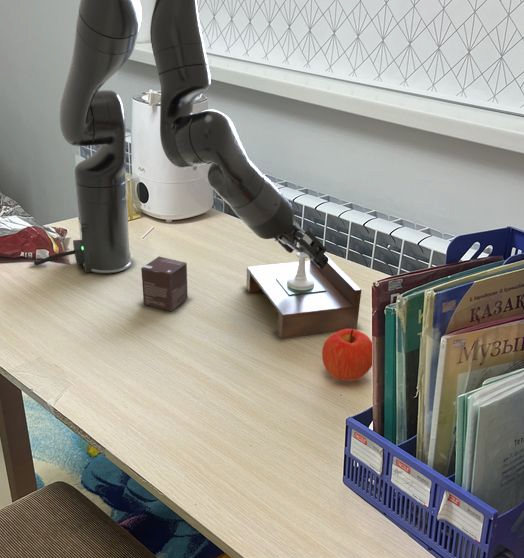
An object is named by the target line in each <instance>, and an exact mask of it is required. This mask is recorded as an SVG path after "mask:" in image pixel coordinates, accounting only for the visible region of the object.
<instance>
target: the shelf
mask: <svg viewBox="0 0 524 558" xmlns="http://www.w3.org/2000/svg"><path fill="white" fill-rule="evenodd" d="M324 254H325V255H326V256H327V257H328V259H329V261H328V263H327V264H326V265H325V267H324V268H323V269H321V268H319V267H318V266H317V265H316V264H315V263H314V262H313V261H312V260H311V259H309V260H305V270H306V275H307V276H308V277H310V278H312V279H313V280H314V287H313V288H311V289H309V290H295V289H292V288H290V287H288V286H287V280H288V278H289V277H291V276H295V274H297V270H298V265H299V261H293V262H292V261H291V262H282V263H272V264H261V265H251V266H246V284H245V285H246V286H245V288H246V290H247V291H248V293H260V292H263V293H264V295H265V297H266V298H267V299H268V301H270V303H271V305H273V307H274V308H275V310H276V311H277V312H278V317H277V319H278V321H277V334H278V335H279V337H280V339H288V338H295V337H302V336H310V335H318V334H325V333H335V332H338V331H340V330H343V329H355V330H358V321H359V313H360V305H361V297H362V289H361V288H360V287H359V286H358V285H357V283H355V282H354V280H352V279H351V278H350V277H349V276H348V275H347V274H346V272H344V271H343V270H342V269H341V267H339V266H338V265H337V264H336V263H335V262H334V261H333V260H332V259H331V258H330V257H329V256H328V255H327V254H326V252H325V253H324Z"/></svg>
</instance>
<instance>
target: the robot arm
mask: <svg viewBox="0 0 524 558" xmlns="http://www.w3.org/2000/svg"><path fill="white" fill-rule="evenodd" d="M142 11H143V9H142V5H141V0H80V1H79V6H78V13H77V17H76V25H75V26H76V27H75V35H74V43H73V49H72V57H71V62H70V66H69V67H70V68H69V70H68V74H67V77H66V81H65V85H64V88H63V92H62V97H61V100H60V104H59V105H60V106H59V126H60V131H61V134H62V136H63V138H64V140H65V141H66V142H67V143H68V144H70V145H71V146H74V147H91V146H92V147H93V146H99V148H98V149H97V150H96V151H95V152H94V153H93V154H92V155H90V156H89V157H87V158H85V159H84V160H82V161H80V162H78V163H77V164H76V165H75V167H74V179H75V190H76V199H77V208H78V209H77V210H78V217H77V219H78V228H79V229H78V230H79V237H80V239H74V240H72V242H73V250H69V251H64V252H63V251H62V252H58V253H55V254H52V255H49V256H47V257H45V258H43V259H40V260H34V261H33V265H34V266H39V265H43V264H45V263H47V262H49V261H52V260H53V259H58V258H63V257H66V256H72V255H74V258H75V261H76V262H75V263H76V264H77V265H78V264H82V265H83V268H84V271H85V273H95V274H115V273H120V272H123V271H125V270H127V269H128V268H130V267H131V266H132V259H131V247H130V246H131V245H130V231H129V215H128V213H129V212H128V201H127V199H128V198H127V183H126V182H127V181H126V168H127V153H126V152H127V151H126V113H125V108H124V105H123V101H122V99H121V97H120V95H119V94H118V93H117V92H116V91H114V90H109V89H105V90H100V89H101V87H102V86H103V85H104V84H105V83H106V82H107V81H109V79H111V78H112V77H113V76H114V75H115V74H116V73H117V72H118V71H119V70H121V68H122V67H123V66H125V64H126V62H128V61H129V59H130V57H131V56H132V54H133V52H134V50H135V47H136V43H137V38H138V35H139V31H140V27H141V24H142V23H141V22H142V17H143V16H142V15H143V12H142ZM149 29H150V30H149V34H150V35H149V36H150V43H151V49H152V54H153V58H154V63H155V67H156V71H157V75H158V81H159V85H160V101H159V103H160V104H159V105H160V106H159V107H160V111H159V112H160V115H159V117H160V118H159V134H160V135H159V138H160V143H161V147H162V150H163V152H164V155H165V156H166V157H167V159H168V161H170V163H171V164H172V165H173V166H175V167H176V168H179V169H192V168H196V167H200V166H204V165H205V166H206V165H209V164H210V166H209V168H208V170H207V180H208V183H209V185H210V187H211V188H212V189H213V191H214V192H215V193H216V194H217V195H218V196H219V197H220V198H221V199H222V200H223V201H224V202H225V203H226V204H227V205H228V206H229V207H230V208H231V210H232V211H233V213H234V214H235V216H237V217H238V218H239V219H240V220H241V221H242V222H243V223H244V224H245V225H246V226H247V227H248V228H249V229H250V230H251V231H252V232H253V233H254V234H255V235H256V236H257V237H259V238H261V239H263V240H273V241H274V242H275V243H278V244H279V245H280V246H281V247H282V248H283V249H284V250H285V251H286V252H287V253H290V254H292V253H293V252H294V251H295V252H296V254H297V253H304V254H305V255H306V256H307V257H308V259H309V260H310V259H311V260H312V261H313V262H314V263H315V264H316V265H317V266H318V267H319V268H321V269H323V268H324V267H325V265H326V264H327V263H328V261H329V259H328V257H329V256H328V255H327V254H326V252H327V251H328V250H327V247H326V246H325V245H323V243H322V242H321V241H319V239H318V238H317V237H316V236H315V235H314V234H313V232H312V231H311V230H308V229H306V230H304V229H303V228H302V227H301V225H300V224H299V223H298V222H297V221H296V220H294V207H293V204H292V203H291V202H290V201H289V200H288V199H287V198H286V196H285V195H284V194H283V193H282V192H281V191H280V190H279V188H278V187H277V186H276V185H275V184H274V183H273V181H272V180H271V179H269V178H268V177H267V176H266V175H265V174H263V172H261V171H260V169H259V168H258V167H257V166H256V165H255V164H254V163H253V161H252V160H251V159H250V158H249V156H248V155H247V153H246V150H245V148H244V146H243V143H242V142H241V139H240V137H239V134H238V132H237V130H236V127H235V125H234V123H233V122H232V120H231V119H230V117H228V116H227V115H226V114H224V113H223V112H221V111H218V110H216V109H206V110H202V111H197V112H196V113H194V104H195V100H196V99H197V98H198V97H199V96H200V95H202V94H203V93H205V92H206V91H208V90H209V88H210V87H211V84H212V83H211V82H212V81H211V79H212V78H211V72H210V68H209V67H210V66H209V63H208V58H207V53H206V49H205V43H204V39H203V34H202V29H201V24H200V18H199V11H198V2H197V0H155V2H154V5H153V9H152V14H151V19H150V27H149ZM298 243H299V245H300V246H298ZM324 253H325V254H326V255H327V256H328V257H327V256H326V255H325V254H324Z"/></svg>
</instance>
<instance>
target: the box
mask: <svg viewBox="0 0 524 558" xmlns="http://www.w3.org/2000/svg"><path fill="white" fill-rule="evenodd" d="M187 267H188V264H187V262H185V261H181V260H176V259H172V258H167V257H163V256H158V257H156V258H155V259H153V260H152V261H150V262H148V263H147V264H145V265H144V266H143V267H141V268H140V271H141V285H142V297H143V305H146V306H149V307H150V306H151V307H154V308H158V309H163V310H166V311H170V312H172V311H173V310H175V309H176V308H177V307H178V306H180V305H181V304H182V303H184V302H185V301H186V300H188V297H189V295H188V269H187Z"/></svg>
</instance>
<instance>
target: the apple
mask: <svg viewBox="0 0 524 558" xmlns="http://www.w3.org/2000/svg"><path fill="white" fill-rule="evenodd" d="M372 343H373V342H372V339H370V337H369V336H368V335H367V334H366V333H364V332H361V331H360V330H358V329H343V330H340V331H334V332H332V334H330V335H329V336H328V337H327V339H326V340H325V341H324V343H323V345H322V350H321V358H322V363H323V367H324V368H325V370H326V371H327V372H328V374H329V375H331V376H332V377H334V378H336V379H338V380H341V381H354V380H355V381H356V380H359V379H361V378H362V377H364V376H365V375H366V374H367V373H368V372H370V369H371V368H372V367H373V365H372Z"/></svg>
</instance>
